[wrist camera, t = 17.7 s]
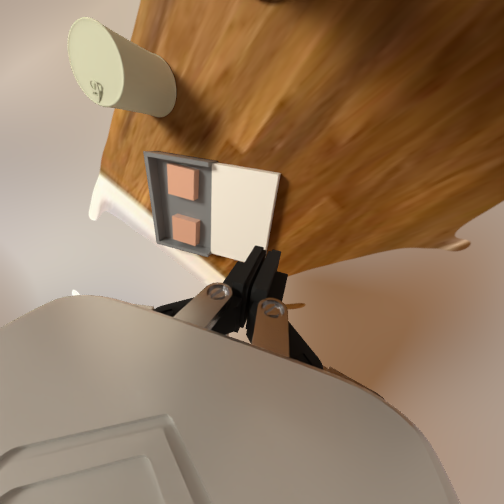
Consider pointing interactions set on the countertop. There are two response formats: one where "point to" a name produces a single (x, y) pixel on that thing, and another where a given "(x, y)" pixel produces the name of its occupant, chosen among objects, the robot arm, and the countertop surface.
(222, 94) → the countertop surface
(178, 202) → the tray
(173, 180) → the tile
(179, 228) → the tile
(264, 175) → the plate
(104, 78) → the can
